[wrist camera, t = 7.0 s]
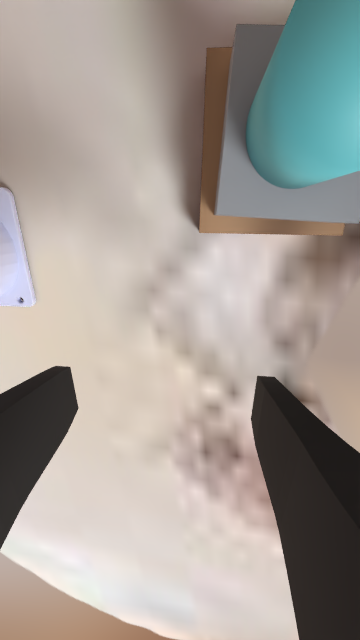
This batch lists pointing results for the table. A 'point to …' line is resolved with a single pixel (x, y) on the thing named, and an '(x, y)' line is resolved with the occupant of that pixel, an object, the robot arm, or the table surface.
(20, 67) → the table surface
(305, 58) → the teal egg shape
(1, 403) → the robot arm
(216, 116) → the tower bottom
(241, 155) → the tower top
